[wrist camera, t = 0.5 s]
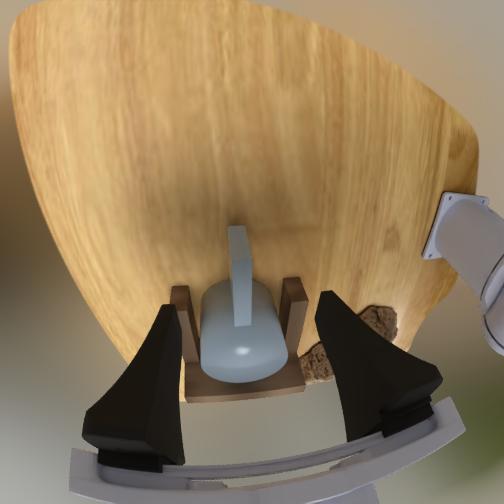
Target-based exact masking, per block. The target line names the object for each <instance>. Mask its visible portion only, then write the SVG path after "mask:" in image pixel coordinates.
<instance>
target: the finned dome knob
mask: <svg viewBox="0 0 504 504" xmlns="http://www.w3.org/2000/svg"><path fill="white" fill-rule="evenodd" d="M228 248H229V270H230V279H227V280H224V281H221V282H219V283H217V284H215V285H213V286H212V287H210V288H209V289H208V290H207V291H206V292H205V294H204V295H203V297H202V299H201V304H200V346H201V367H202V369H203V370H204V372H205V373H206V374H207V375H209V376H210V377H212V378H214V379H217V380H220V381H224V382H232V383H243V382H251V381H256V380H260V379H263V378H266V377H268V376H270V375H272V374H274V373H276V372H277V371H278V370H280V369H281V368H282V367H283V366H284V365H285V363H286V361H287V359H288V351H287V347H286V344H285V340H284V336H283V333H282V329H281V325H280V321H279V318H278V314H277V310H276V307H275V303H274V299H273V296H272V293H271V292H270V290H269V289H268V288H267V287H266V286H265V285H264V284H262V283H260V282H258V281H256V280H252V255H251V251H250V246H249V242H248V238H247V233H246V229H245V225H242V226H228Z"/></svg>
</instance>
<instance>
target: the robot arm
mask: <svg viewBox="0 0 504 504" xmlns="http://www.w3.org/2000/svg"><path fill="white" fill-rule="evenodd" d="M488 204H489V198H487V197H483V196H476V195H469V194H461V193H452V192H445V193H444V194H443V195H442V199H441V202H440V206H439V209H438V212H437V215H436V219H435V222H434V225H433V228H432V231H431V233H430V236H429V239H428V242H427V245H426V247H425V250H424V252H423V255H422V257H423V258H424V259H425V260H427V259H435V258H444V259H445V260H446V261H447V262H448V263H449V264H450V265H451V266H452V267H453V268H454V270H455V271H456V272H457V273H458V274H459V275H460V276H461V277H462V279H463V280H464V281H465V282H466V283H467V284H468V285H469V287H470V288H471V289H472V290H473V291H474V293H475V294H476V295H477V296H478V297H479V299H480V300H481V302H480V305H479V306H478V308H479V309H480V310H481V312H482V313H483V314H482V317H481V326H482V330H483V333H484V336H485V338H486V340H487V342H488V343H489V344H490V346H491V347H492V348H493V349H494V350H495V351H496V352H498V353H500V354H501V355H503V356H504V219H503V218H502V217H500V216H499V215H498V214H497V213H495V212H494V211H493V210H492V209H490V208H489V207H488ZM314 319H315V323H316V327H317V331H318V335H319V338H320V340H321V343H322V345H323V348H324V350H325V353H326V355H327V358H328V360H329V363H330V365H331V368H332V370H333V373H334V376H335V379H336V383H337V387H338V391H339V395H340V400H341V405H342V409H343V415H344V421H345V428H346V436H347V443H345V444H341V445H338V446H334V447H331V448H327V449H323V450H319V451H315V452H311V453H306V454H301V455H296V456H291V457H286V458H280V459H274V460H267V461H260V462H251V463H241V464H231V465H229V464H228V465H207V466H183V464H185V457H184V450H183V442H182V433H181V422H180V408H179V383H180V371H181V359H182V329H181V325H180V321H179V318H178V314H177V310H176V306H175V304H163V305H162V306H161V308H160V310H159V312H158V315H157V317H156V319H155V321H154V323H153V325H152V327H151V329H150V331H149V333H148V335H147V337H146V339H145V340H144V342H143V344H142V346H141V347H140V349H139V351H138V352H137V354H136V355H135V357H134V359H133V360H132V362H131V363H130V364H129V366H128V367H127V369H126V370H125V371H124V373H123V374H122V375H121V376H120V378H119V379H118V380H117V381H116V383H115V384H114V385H113V386H112V387H111V388H110V389H109V390H108V391H107V392H106V393H105V395H104V396H103V397H102V398H101V399H100V400H99V401H97V402H96V403H95V404H94V405H93V406H92V407H91V408H90V409H88V410H87V411H86V415H85V418H84V423H83V430H82V437H83V439H84V440H85V441H87V442H88V443H90V444H91V445H93V446H95V447H96V448H98V450H99V451H98V454H96V453H93V452H89V451H85V450H80V449H76V448H72V452H71V462H70V477H69V491H70V492H71V493H74V494H77V495H80V496H84V497H87V498H90V499H94V500H98V501H102V502H106V503H110V504H379V501H378V497H377V494H376V491H375V487H374V484H373V482H375V481H377V480H380V479H382V478H384V477H387V476H389V475H391V474H393V473H395V472H397V471H400V470H401V469H403V468H405V467H407V466H409V465H411V464H413V463H415V462H417V461H419V460H421V459H422V458H424V457H426V456H428V455H429V454H431V453H433V452H434V451H436V450H438V449H439V448H441V447H442V446H444V445H446V444H447V443H449V442H450V441H452V440H453V439H455V438H456V437H458V436H459V435H460V434H462V433H464V432H465V430H466V429H465V427H464V425H463V422H462V420H461V418H460V416H459V414H458V411H457V409H456V407H455V406H454V403H453V401H452V399H451V397H447V398H445V399H443V400H442V401H440V402H438V403H436V404H434V405H433V406H431V405H430V402H431V401H432V399H431V397H430V394H432V393H433V392H434V391H435V390H436V389H437V388H438V387H439V385H440V384H441V383H442V381H443V378H442V376H441V374H440V372H439V370H438V369H437V367H436V366H435V365H433V364H430V363H428V362H425V361H423V360H421V359H418V358H417V357H414V356H413V355H411V354H409V353H407V352H405V351H403V350H402V349H400V348H398V347H397V346H395V345H394V344H392V343H391V342H389V341H388V340H386V339H385V338H384V337H382V336H381V335H380V334H378V333H377V332H376V331H374V330H373V329H372V328H371V327H370V326H369V325H367V324H366V323H365V322H364V321H363V320H362V319H361V318H360V317H359V316H358V315H357V314H355V313H354V312H353V311H352V310H351V309H350V308H349V307H348V306H347V305H346V304H345V303H344V302H343V301H342V300H341V299H340V298H339V297H338V296H337V295H336V294H335V293H334V292H333V291H332V290H330V291H322V292H321V294H320V298H319V302H318V307H317V310H316V314H315V318H314ZM357 453H359V454H357ZM354 454H357V455H354ZM351 455H354V456H351ZM348 456H351V457H349V458H346V459H344V460H341V461H340V462H339V463H338V464H336V465H334V466H332V467H330V468H329V471H325V472H320V473H316V474H312V475H307V476H303V477H298V478H293V479H288V480H283V481H277V482H271V483H265V484H258V485H251V486H243V487H233V488H228V486H227V485H224V484H223V482H220V481H191V480H215V479H233V478H245V477H254V476H262V475H269V474H275V473H282V472H287V471H293V470H298V469H303V468H307V467H312V466H316V465H319V464H324V463H327V462H331V461H335V460H338V459H342V458H345V457H348Z"/></svg>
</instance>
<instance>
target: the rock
mask: <svg viewBox="0 0 504 504" xmlns="http://www.w3.org/2000/svg"><path fill="white" fill-rule="evenodd" d="M358 316H359V317H360V318H361V319H362V320H363V321H364V322H365V323H366V324H367V325H369V326H370V327H371V328H372V329H373V330H374V331H376V332H377V333H378V334H380V335H381V336H382V337H384V338H385V339H386V340H388V341H389V342H391V343H392V342H393V340H394V339H395V338H396V336H397V331H398V329H397V327H396V325H397V313H396V312H395V311H393V310H391V309H390V308H388V307H377V308H375V307H369V308H368V309H367V310H366V311H365V312H364V313H363V314H362V315H361V314H360V315H358ZM299 362H300V365H301V369H302V372H303V376H304V379H305V382H306V385H308V384H312V383H319V382H324V381H332V380H336V379H335V376H334V373H333V370H332V368H331V365H330V363H329V360H328V358H327V355H326V353H325V350H324V348H323V345H322V343H320V344H318V345H317V346H315V347H314V348H313V349H312V351H311V352H310V353H309V354H307V355H303V356H301V357H300V358H299Z"/></svg>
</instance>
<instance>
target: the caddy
mask: <svg viewBox="0 0 504 504" xmlns="http://www.w3.org/2000/svg"><path fill="white" fill-rule="evenodd" d="M308 302H309V300H308V297H307V295H306V292H305V290H304V287H303V285H302V282H301V280H300V278H289V279H284V280H283V288H282V297H281V305H280V314H279V321H280V325H281V329H282V333H283V336H284V340H285V344H286V347H287V351H288V359H287V361H286V363H285V365H284V366H283V367H282V368H281V369H280V370H278V371H277V372H276V373H274V374H272V375H270V376H268V377H266V378H263V379H260V380H256V381H251V382H243V383H232V382H224V381H220V380H217V379H214V378H212V377H210V376H209V375H207V374H206V373H205V372H204V370H203V369H202V367H201V346H200V339H199V337H198V332H197V327H196V323H195V318H194V313H193V308H192V303H191V297H190V292H189V287H188V286H180V287H172V290H171V298H170V304H175V306H176V310H177V314H178V318H179V321H180V325H181V329H182V356H183V359H184V362H185V399H186V401H187V403H206V402H224V401H236V400H247V399H255V398H265V397H272V396H279V395H286V394H292V393H298V392H303V391H304V389H305V387H306V382H305V379H304V376H303V372H302V369H301V365H300V362H299V358H298V355H297V350H298V346H299V341H300V337H301V333H302V329H303V324H304V320H305V316H306V311H307V306H308Z"/></svg>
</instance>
